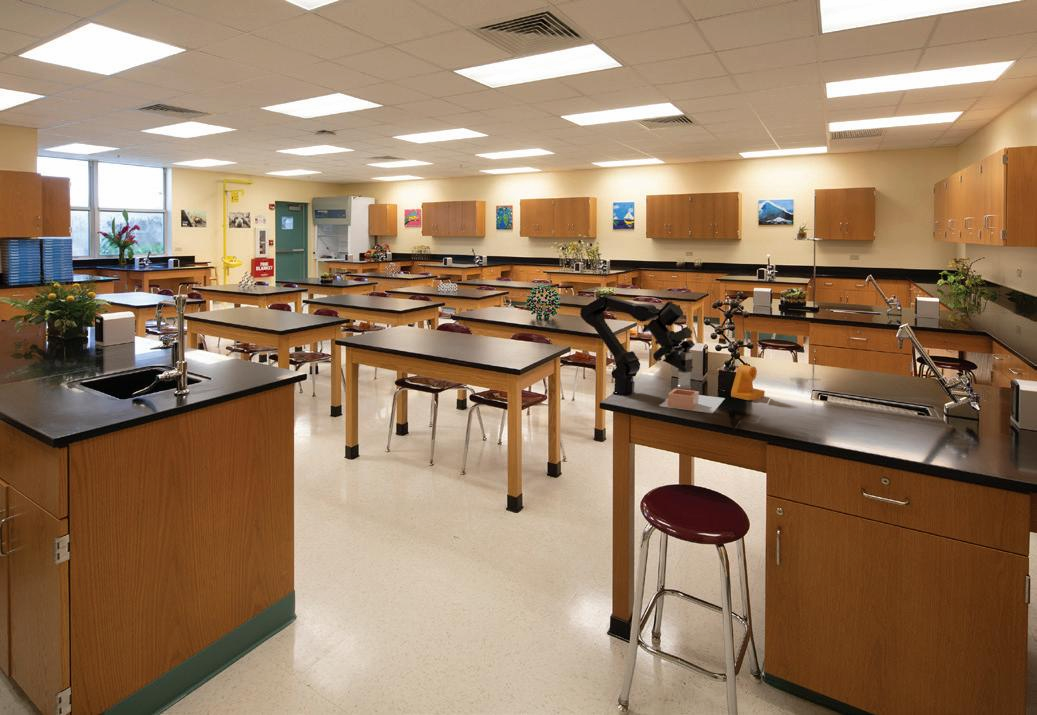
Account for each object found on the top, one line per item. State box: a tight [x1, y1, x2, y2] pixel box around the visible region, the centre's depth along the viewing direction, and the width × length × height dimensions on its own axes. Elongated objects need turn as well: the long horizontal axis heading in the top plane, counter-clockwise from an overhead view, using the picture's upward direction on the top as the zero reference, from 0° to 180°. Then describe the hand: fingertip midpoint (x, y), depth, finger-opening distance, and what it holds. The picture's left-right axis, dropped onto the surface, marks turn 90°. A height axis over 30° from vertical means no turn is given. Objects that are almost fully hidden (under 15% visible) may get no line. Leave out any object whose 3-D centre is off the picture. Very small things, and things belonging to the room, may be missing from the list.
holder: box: [667, 388, 700, 411], centre depth 205 cm, size 8×8×4 cm
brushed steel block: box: [676, 351, 693, 390], centre depth 203 cm, size 4×4×12 cm
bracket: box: [730, 364, 766, 401], centre depth 215 cm, size 11×7×12 cm, turn 127°
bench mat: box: [658, 394, 726, 414], centre depth 209 cm, size 18×22×1 cm
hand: (688, 369), depth 202 cm, fingers closed on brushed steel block, 4 cm apart
